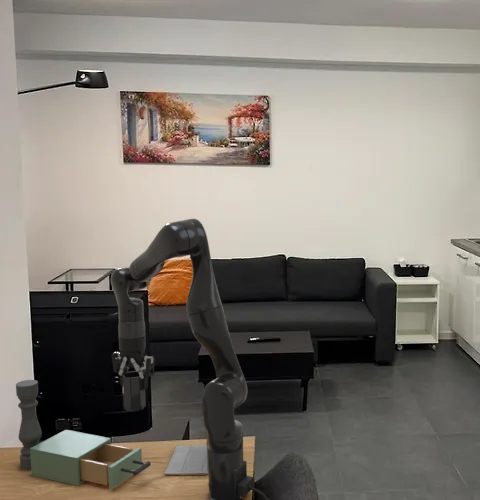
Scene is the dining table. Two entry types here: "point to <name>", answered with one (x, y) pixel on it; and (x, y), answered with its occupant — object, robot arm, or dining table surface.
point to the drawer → (112, 465)
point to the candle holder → (28, 420)
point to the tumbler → (133, 392)
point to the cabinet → (64, 455)
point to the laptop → (189, 460)
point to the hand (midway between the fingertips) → (134, 388)
